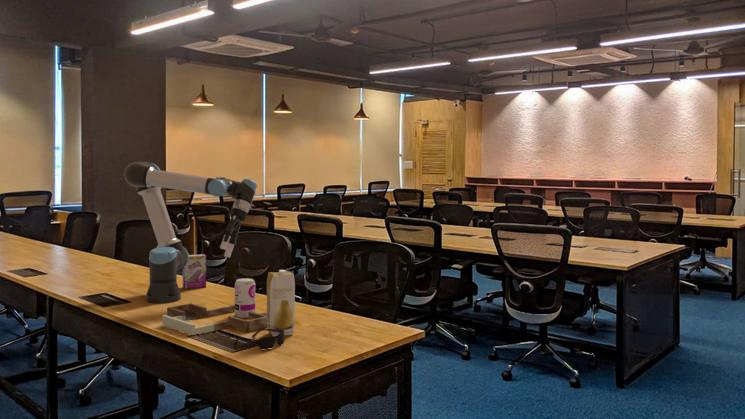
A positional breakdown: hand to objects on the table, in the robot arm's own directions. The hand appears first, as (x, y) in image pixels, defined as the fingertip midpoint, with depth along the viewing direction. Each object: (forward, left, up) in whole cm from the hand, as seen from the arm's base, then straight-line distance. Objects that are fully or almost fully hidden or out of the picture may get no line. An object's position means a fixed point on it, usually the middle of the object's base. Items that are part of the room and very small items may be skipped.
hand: (224, 253), depth 275 cm
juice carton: (+30, -56, -22) cm, 67 cm away
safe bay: (-6, -48, -22) cm, 53 cm away
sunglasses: (+24, -68, -22) cm, 75 cm away
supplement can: (+13, -29, -22) cm, 39 cm away
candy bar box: (-20, +29, -22) cm, 42 cm away
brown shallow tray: (+6, -36, -22) cm, 42 cm away
